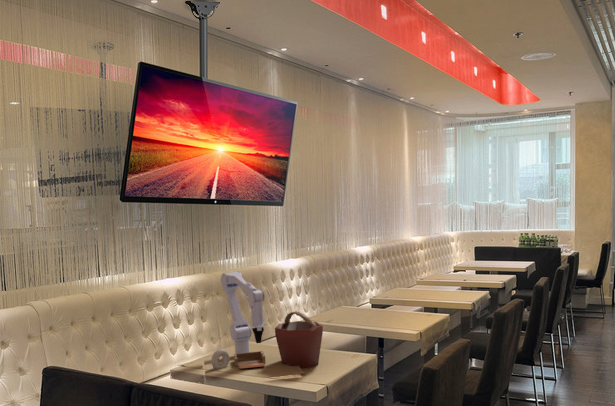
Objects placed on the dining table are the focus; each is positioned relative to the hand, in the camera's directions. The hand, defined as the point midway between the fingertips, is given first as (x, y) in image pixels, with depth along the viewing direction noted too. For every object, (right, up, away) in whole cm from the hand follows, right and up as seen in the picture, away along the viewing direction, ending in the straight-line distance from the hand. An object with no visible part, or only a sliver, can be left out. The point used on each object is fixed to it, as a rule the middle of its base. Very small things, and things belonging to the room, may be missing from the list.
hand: (258, 342), depth 286 cm
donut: (-17, -11, -10) cm, 22 cm away
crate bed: (-4, -10, -4) cm, 11 cm away
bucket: (+20, -9, -6) cm, 23 cm away
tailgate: (-3, -8, -10) cm, 13 cm away
